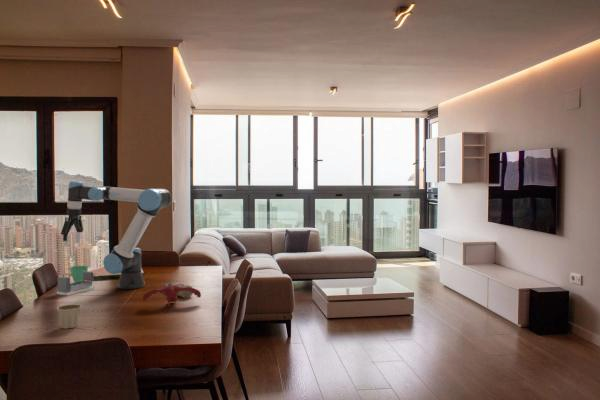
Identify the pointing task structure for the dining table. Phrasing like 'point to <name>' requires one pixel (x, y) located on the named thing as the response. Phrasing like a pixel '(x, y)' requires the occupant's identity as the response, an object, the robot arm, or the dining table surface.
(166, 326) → the dining table surface
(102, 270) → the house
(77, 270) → the mug
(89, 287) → the gauge housing
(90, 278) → the purple-grey block
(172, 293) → the decorative bird sculpture
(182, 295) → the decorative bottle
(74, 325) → the flower pot
